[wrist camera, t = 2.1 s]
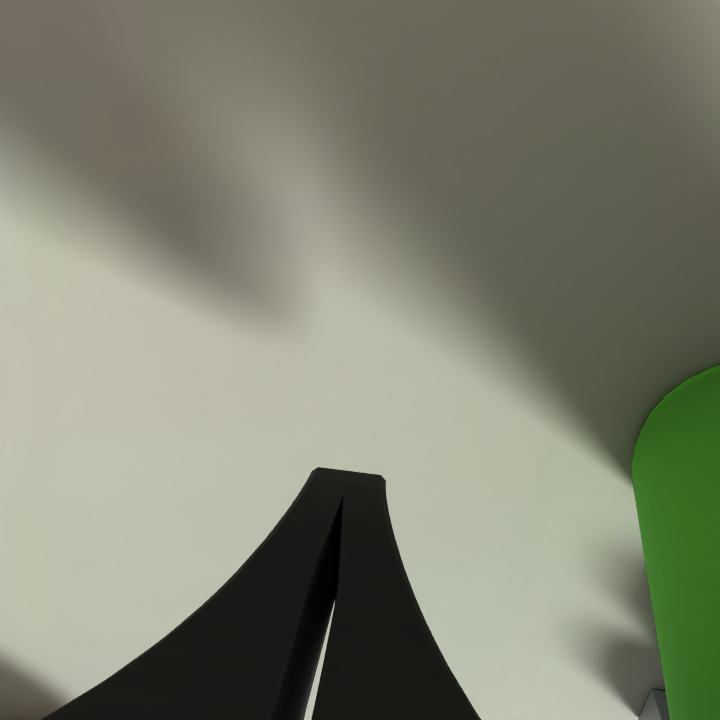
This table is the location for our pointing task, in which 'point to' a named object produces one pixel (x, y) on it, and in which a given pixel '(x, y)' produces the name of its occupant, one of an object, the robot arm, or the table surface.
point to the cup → (684, 540)
